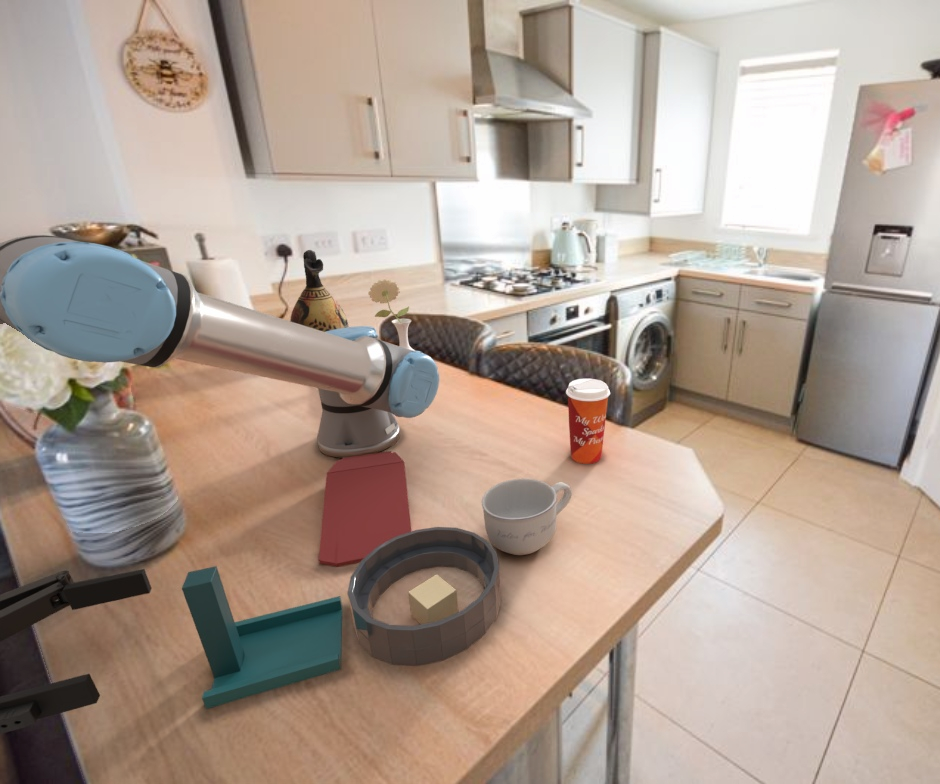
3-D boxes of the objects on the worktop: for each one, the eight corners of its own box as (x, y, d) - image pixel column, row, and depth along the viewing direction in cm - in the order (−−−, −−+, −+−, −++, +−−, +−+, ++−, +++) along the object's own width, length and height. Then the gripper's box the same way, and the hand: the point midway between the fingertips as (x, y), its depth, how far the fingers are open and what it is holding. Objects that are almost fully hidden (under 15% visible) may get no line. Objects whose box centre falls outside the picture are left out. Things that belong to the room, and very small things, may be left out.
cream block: (458, 615, 63) (430, 635, 60) (439, 598, 65) (411, 617, 62) (456, 589, 61) (427, 609, 58) (436, 573, 63) (407, 591, 61)
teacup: (494, 574, 70) (491, 526, 67) (477, 527, 79) (474, 483, 76) (587, 548, 75) (589, 503, 72) (561, 508, 84) (561, 466, 81)
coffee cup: (576, 470, 95) (578, 396, 89) (558, 451, 102) (558, 381, 96) (615, 461, 99) (619, 389, 93) (595, 442, 106) (597, 374, 100)
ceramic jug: (357, 357, 151) (341, 253, 140) (299, 366, 143) (277, 256, 131) (345, 342, 164) (330, 246, 152) (291, 350, 156) (270, 248, 144)
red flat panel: (416, 571, 75) (405, 466, 95) (412, 547, 72) (402, 444, 92) (324, 591, 71) (333, 477, 91) (317, 567, 68) (328, 455, 88)
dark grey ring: (328, 616, 62) (319, 578, 60) (444, 545, 75) (440, 511, 73) (411, 700, 53) (405, 658, 50) (528, 602, 65) (527, 565, 63)
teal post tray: (207, 714, 51) (169, 615, 46) (227, 639, 59) (197, 549, 54) (341, 674, 55) (320, 580, 50) (343, 609, 63) (325, 523, 58)
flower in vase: (428, 360, 150) (419, 274, 140) (428, 374, 140) (418, 282, 130) (380, 364, 146) (368, 275, 137) (377, 377, 136) (363, 283, 127)
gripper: (-74, 625, 54) (172, 573, 61) (-350, 919, 33) (78, 783, 40) (-109, 569, 51) (153, 522, 59) (-438, 851, 30) (42, 718, 37)
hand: (123, 628), depth 49 cm, fingers open, 13 cm apart
